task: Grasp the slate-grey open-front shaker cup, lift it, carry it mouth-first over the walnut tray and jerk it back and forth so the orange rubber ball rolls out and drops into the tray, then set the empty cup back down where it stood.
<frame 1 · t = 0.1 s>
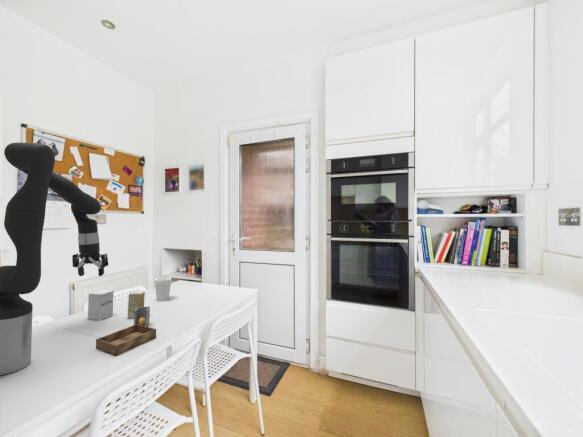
hand: (91, 275, 117), 22 cm above the table, tool pointing down, fingers open, 8 cm apart
foam cup: (162, 300, 153), on the table
skincare box: (135, 317, 126), on the table
supplement box: (100, 317, 125), on the table
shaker: (141, 325, 115), on the table, touching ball
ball: (141, 321, 115), point 2 cm above the table, touching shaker
tray: (127, 342, 99), on the table
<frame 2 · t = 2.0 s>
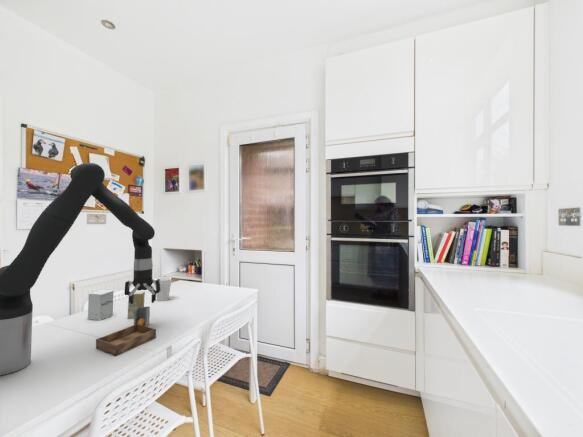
hand: (142, 302, 115), 11 cm above the table, tool pointing down, fingers open, 8 cm apart
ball: (141, 321, 114), point 2 cm above the table, tilted 25°, touching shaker
everything else where it was.
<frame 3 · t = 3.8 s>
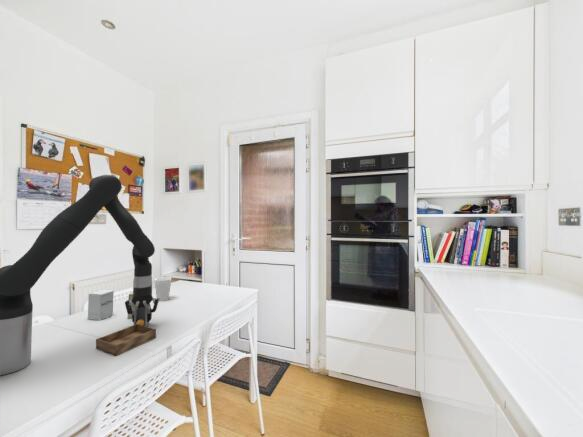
hand: (141, 321, 115), 2 cm above the table, tool pointing down, fingers closed on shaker, 5 cm apart
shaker: (141, 325, 115), on the table, touching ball, gripper
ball: (140, 322, 113), point 2 cm above the table, tilted 74°, touching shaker
everything else where it was.
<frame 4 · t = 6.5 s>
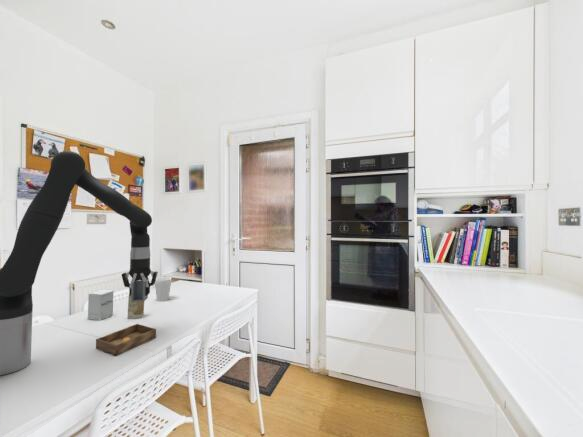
hand: (139, 295, 110), 16 cm above the table, tool pointing down, fingers closed on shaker, 5 cm apart
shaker: (139, 299, 110), point 14 cm above the table, touching gripper
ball: (126, 342, 95), point 2 cm above the table, tilted 71°, touching tray
everything else where it was.
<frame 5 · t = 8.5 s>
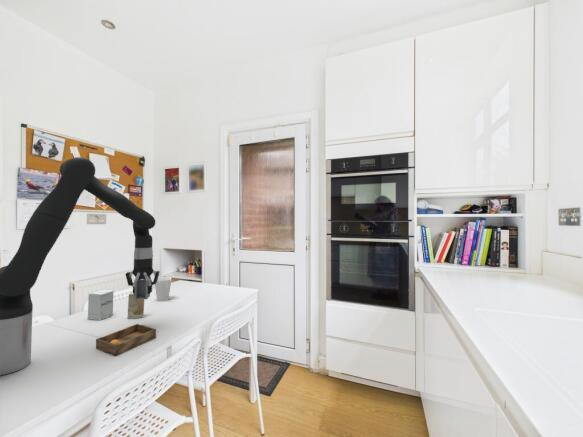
hand: (142, 293, 115), 15 cm above the table, tool pointing down, fingers closed on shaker, 5 cm apart
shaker: (142, 298, 115), point 13 cm above the table, touching gripper
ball: (114, 344, 93), point 2 cm above the table, tilted 123°, touching tray
everything else where it was.
when the fingers open (3 cm above the table, at t = 10.6 s): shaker stays where it is, on the table.
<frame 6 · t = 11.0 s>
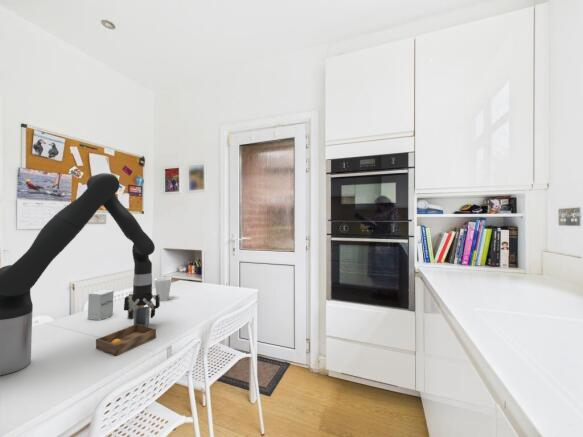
hand: (142, 318, 115), 4 cm above the table, tool pointing down, fingers open, 8 cm apart
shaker: (141, 326, 115), on the table
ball: (115, 343, 94), point 2 cm above the table, tilted 110°, touching tray
everything else where it was.
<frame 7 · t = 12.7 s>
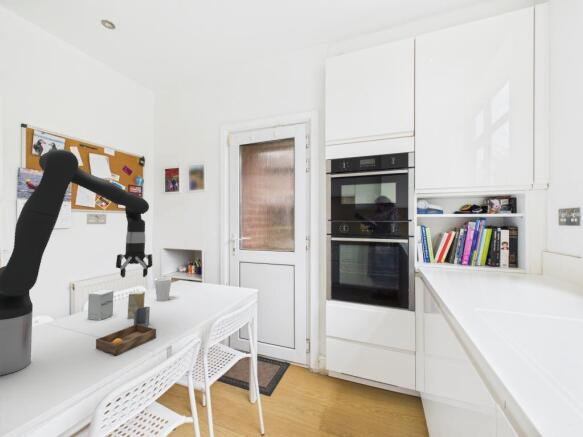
hand: (134, 276, 115), 23 cm above the table, tool pointing down, fingers open, 8 cm apart
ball: (117, 343, 94), point 2 cm above the table, tilted 99°, touching tray
everything else where it was.
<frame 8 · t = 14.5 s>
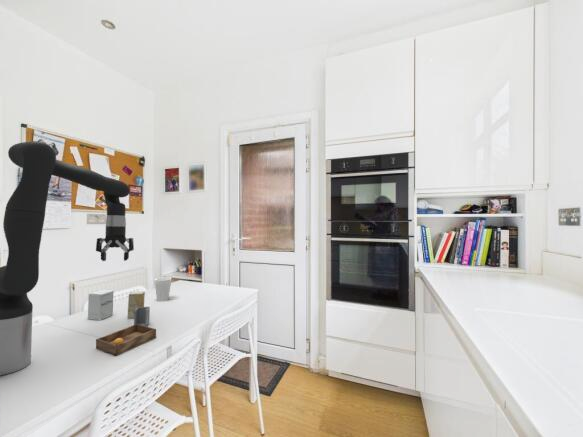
hand: (115, 260, 114), 30 cm above the table, tool pointing down, fingers open, 8 cm apart
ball: (118, 342, 95), point 2 cm above the table, tilted 88°, touching tray
everything else where it was.
at the end: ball inside the target area on the tray (4.4 cm from its centre), point 2.2 cm above the tray's base; the gripper is holding nothing; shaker tilted 0° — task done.
